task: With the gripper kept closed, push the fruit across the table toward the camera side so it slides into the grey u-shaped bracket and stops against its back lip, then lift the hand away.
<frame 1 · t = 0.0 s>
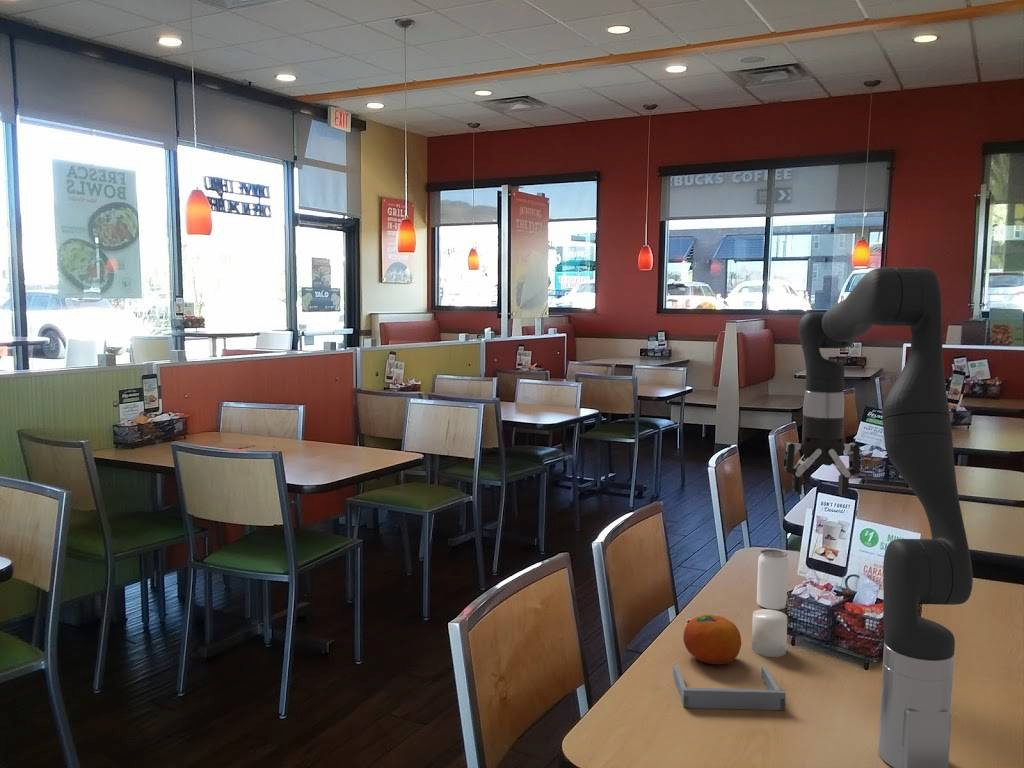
hand: (819, 494, 164), 29 cm above the table, fingers open, 8 cm apart
grey u-shaped bracket: (726, 691, 143), on the table
white rounded cube: (768, 650, 160), on the table
fruit: (711, 660, 156), on the table
can: (771, 606, 184), on the table
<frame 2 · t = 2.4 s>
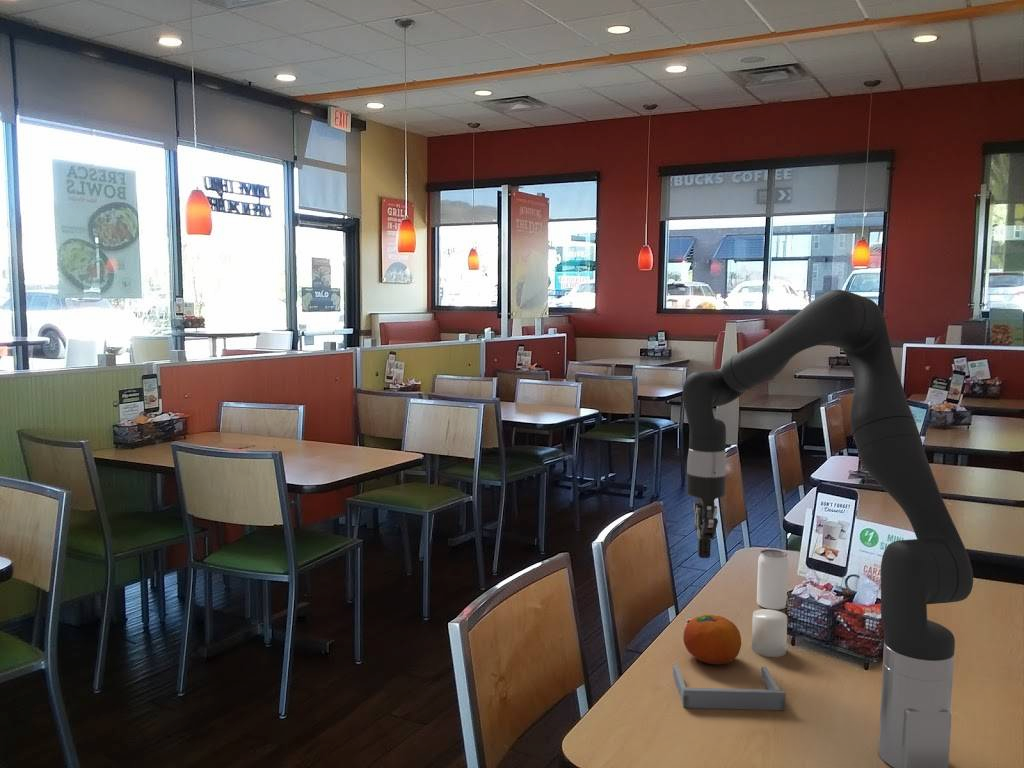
hand: (703, 556, 165), 17 cm above the table, fingers closed
nothing on the table moved.
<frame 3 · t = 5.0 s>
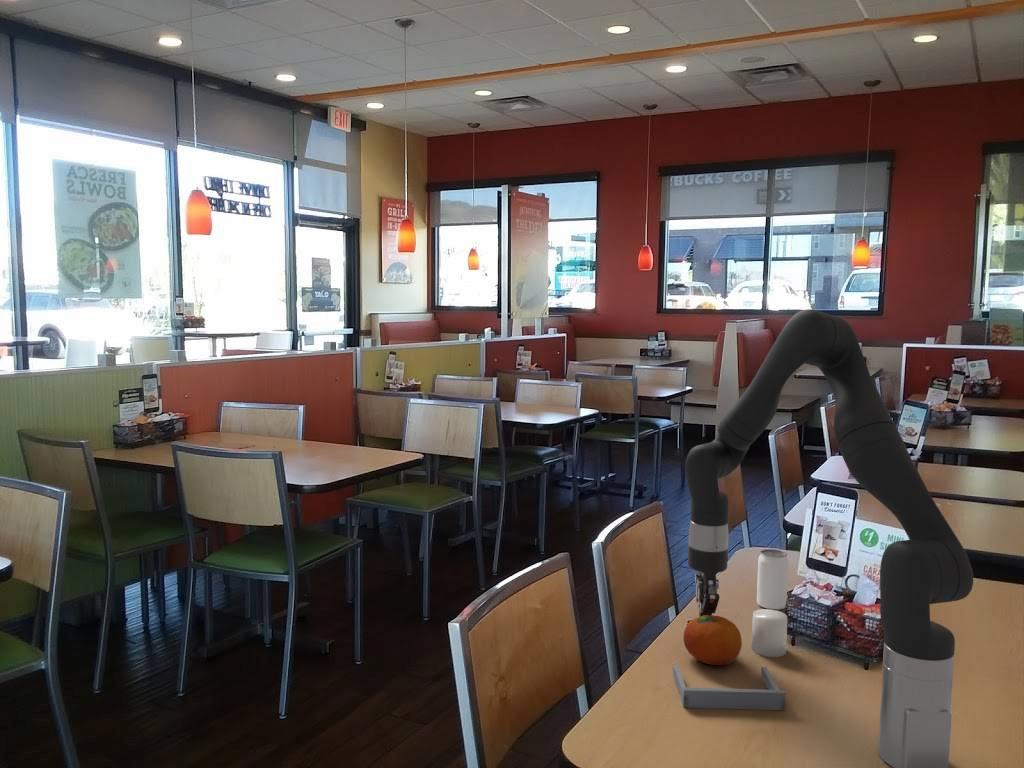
hand: (704, 629, 162), 3 cm above the table, fingers closed
fruit: (711, 661, 155), on the table, touching gripper
everything else where it was.
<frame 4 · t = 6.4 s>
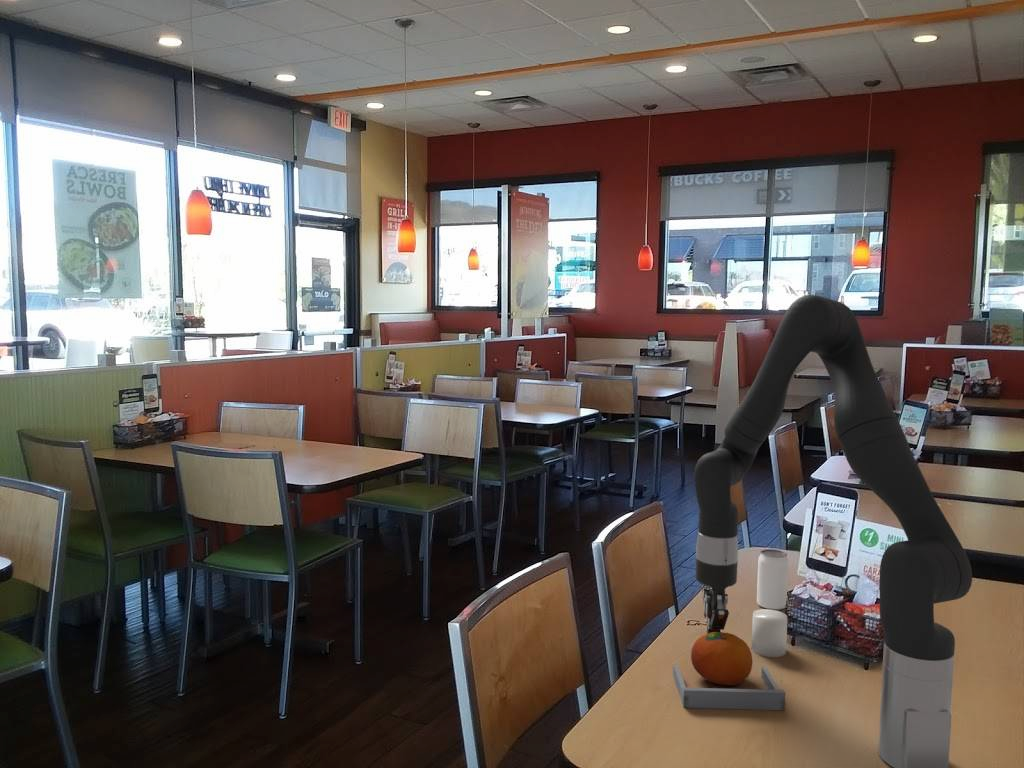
hand: (712, 646, 154), 3 cm above the table, fingers closed
fruit: (720, 680, 147), on the table, touching gripper
everything else where it was.
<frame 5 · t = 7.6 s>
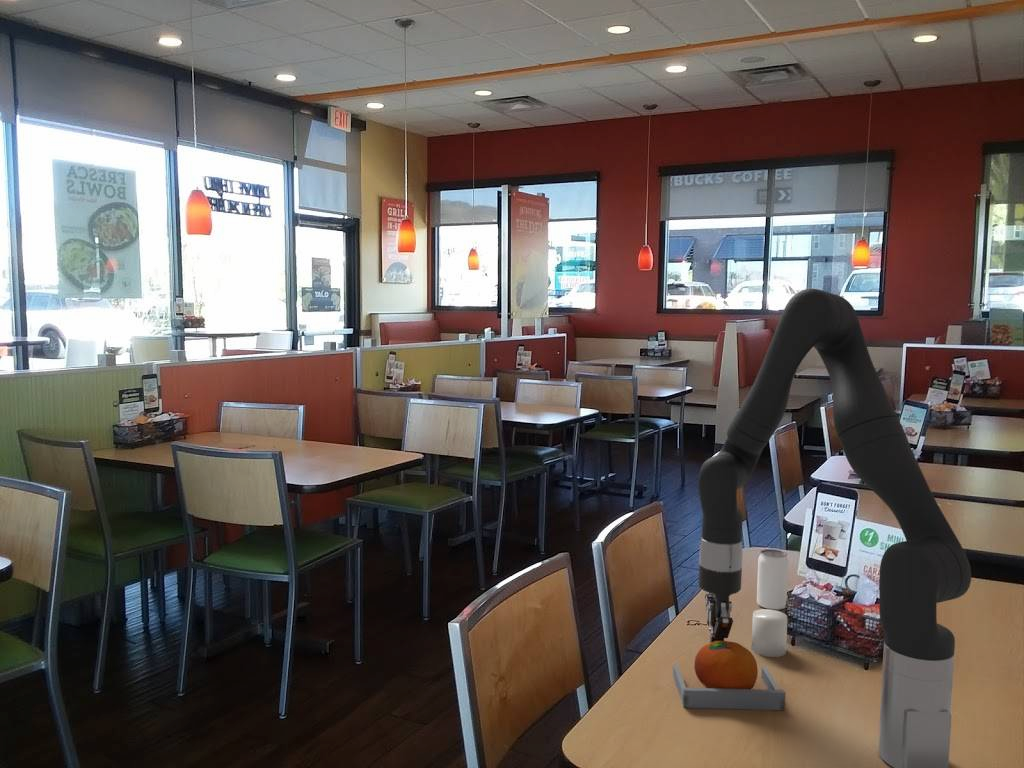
hand: (716, 654, 150), 3 cm above the table, fingers closed
fruit: (725, 691, 143), on the table, touching gripper
everything else where it was.
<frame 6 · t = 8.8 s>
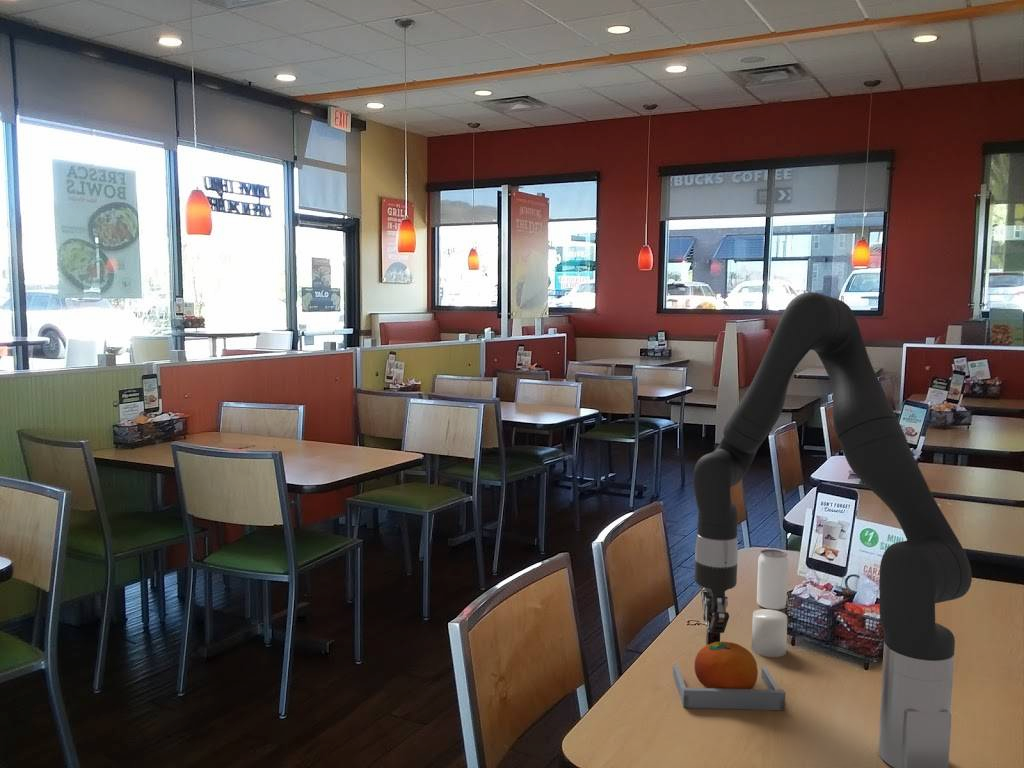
hand: (712, 649, 152), 3 cm above the table, fingers closed
fruit: (725, 692, 143), on the table
everything else where it was.
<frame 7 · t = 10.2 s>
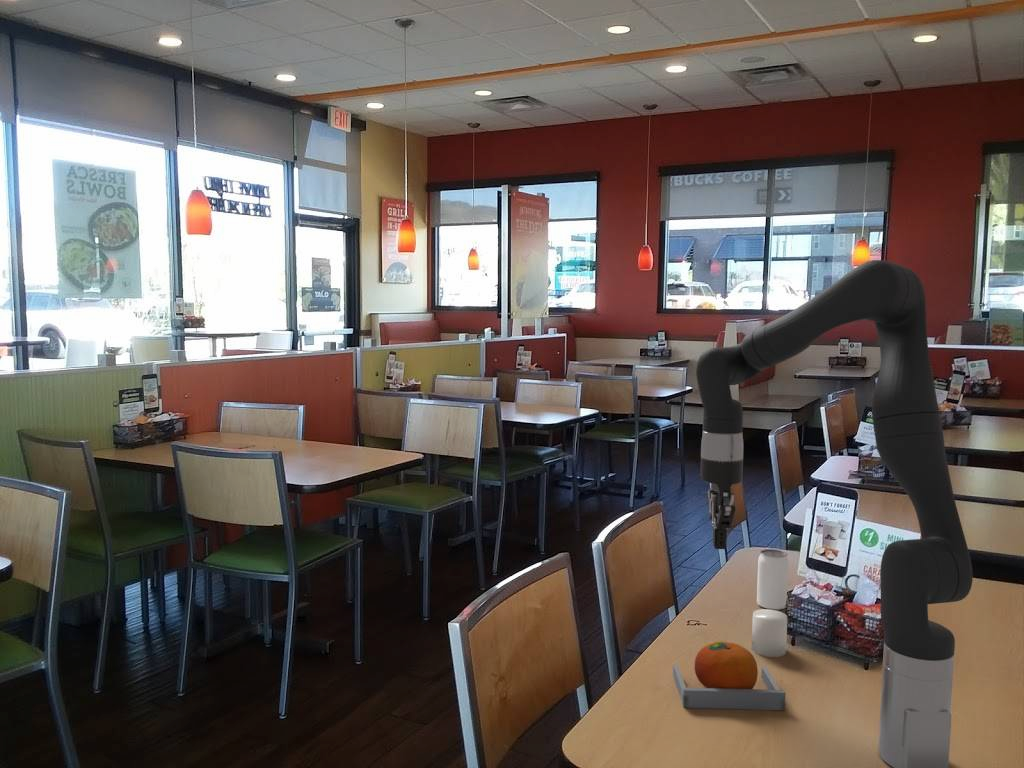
hand: (719, 547, 153), 22 cm above the table, fingers closed
nothing on the table moved.
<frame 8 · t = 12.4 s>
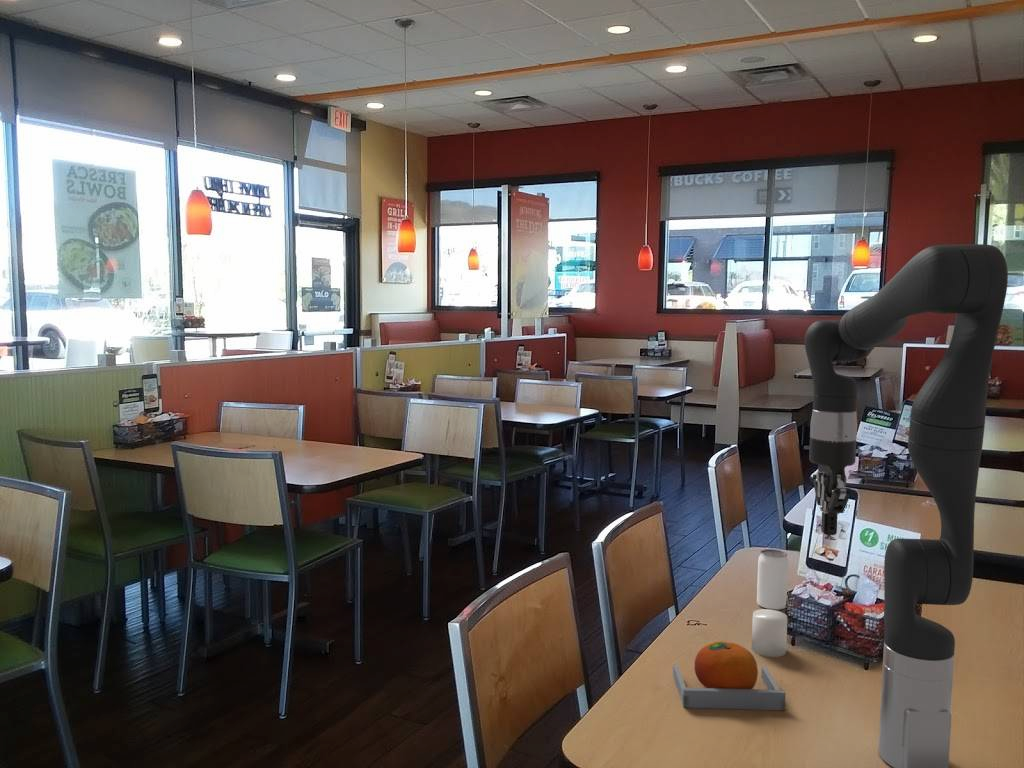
hand: (828, 533, 144), 27 cm above the table, fingers closed
nothing on the table moved.
at the end: fruit inside the target area on the grey u-shaped bracket (0.5 cm from its centre), point 0.0 cm above the grey u-shaped bracket's base; fruit moved 12.5 cm from its start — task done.
